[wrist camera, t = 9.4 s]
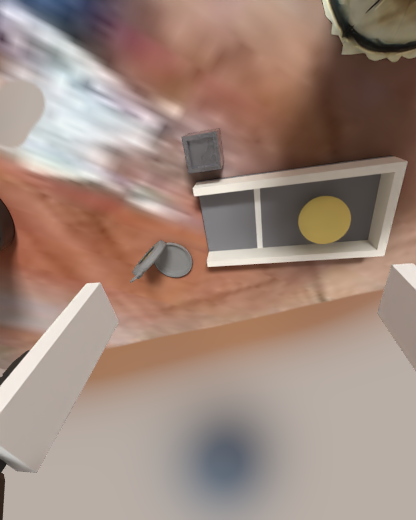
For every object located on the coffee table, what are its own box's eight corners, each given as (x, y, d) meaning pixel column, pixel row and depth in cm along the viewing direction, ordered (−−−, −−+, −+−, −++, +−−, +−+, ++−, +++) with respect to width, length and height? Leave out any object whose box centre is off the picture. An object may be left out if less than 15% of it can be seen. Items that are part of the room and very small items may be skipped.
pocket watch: (189, 277, 43) (176, 319, 35) (143, 266, 43) (119, 305, 35) (197, 237, 39) (184, 274, 30) (146, 225, 39) (118, 259, 30)
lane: (210, 255, 40) (207, 266, 37) (197, 181, 34) (192, 188, 31) (372, 243, 35) (384, 255, 32) (391, 155, 29) (407, 161, 26)
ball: (294, 233, 35) (302, 254, 30) (295, 192, 32) (304, 208, 27) (338, 229, 34) (354, 250, 29) (344, 186, 31) (363, 202, 26)
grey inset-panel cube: (194, 166, 33) (188, 173, 29) (188, 133, 31) (181, 137, 27) (224, 162, 32) (221, 168, 28) (219, 128, 30) (216, 131, 26)
